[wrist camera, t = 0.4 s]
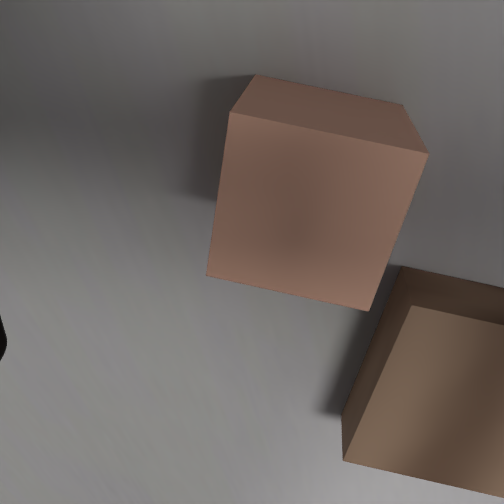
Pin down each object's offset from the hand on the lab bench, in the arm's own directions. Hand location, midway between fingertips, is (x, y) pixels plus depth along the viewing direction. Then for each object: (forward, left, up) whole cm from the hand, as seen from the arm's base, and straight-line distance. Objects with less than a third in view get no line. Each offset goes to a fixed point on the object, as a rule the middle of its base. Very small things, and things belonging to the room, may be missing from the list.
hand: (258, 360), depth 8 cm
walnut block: (-10, +8, -11) cm, 17 cm away
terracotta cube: (-1, 0, -11) cm, 11 cm away
